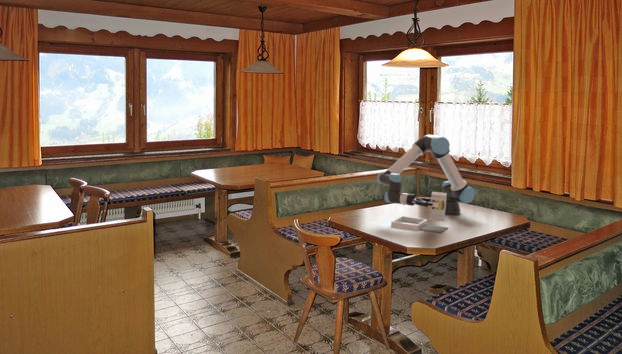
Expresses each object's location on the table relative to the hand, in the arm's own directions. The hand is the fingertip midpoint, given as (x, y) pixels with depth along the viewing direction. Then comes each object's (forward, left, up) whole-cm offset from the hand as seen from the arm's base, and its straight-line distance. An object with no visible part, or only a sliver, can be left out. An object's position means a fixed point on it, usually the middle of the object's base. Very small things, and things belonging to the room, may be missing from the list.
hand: (441, 203), depth 334 cm
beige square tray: (-1, -21, -17) cm, 27 cm away
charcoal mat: (0, -4, -17) cm, 18 cm away
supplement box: (0, -2, -11) cm, 11 cm away
